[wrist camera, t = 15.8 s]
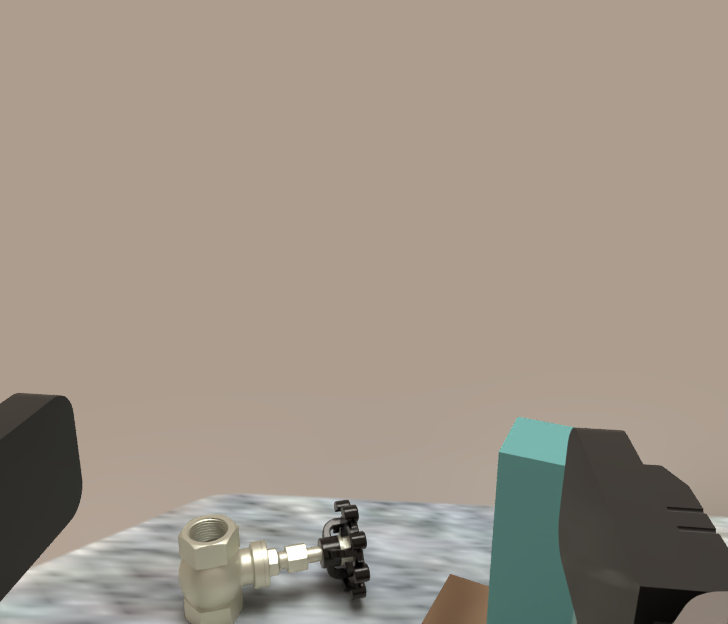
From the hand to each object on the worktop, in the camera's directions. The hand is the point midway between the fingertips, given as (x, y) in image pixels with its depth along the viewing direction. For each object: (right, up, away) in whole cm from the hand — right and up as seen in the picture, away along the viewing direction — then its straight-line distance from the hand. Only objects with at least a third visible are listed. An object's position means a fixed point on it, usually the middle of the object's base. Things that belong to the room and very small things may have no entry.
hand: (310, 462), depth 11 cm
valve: (-5, -18, +36) cm, 40 cm away
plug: (+10, -19, +29) cm, 36 cm away
